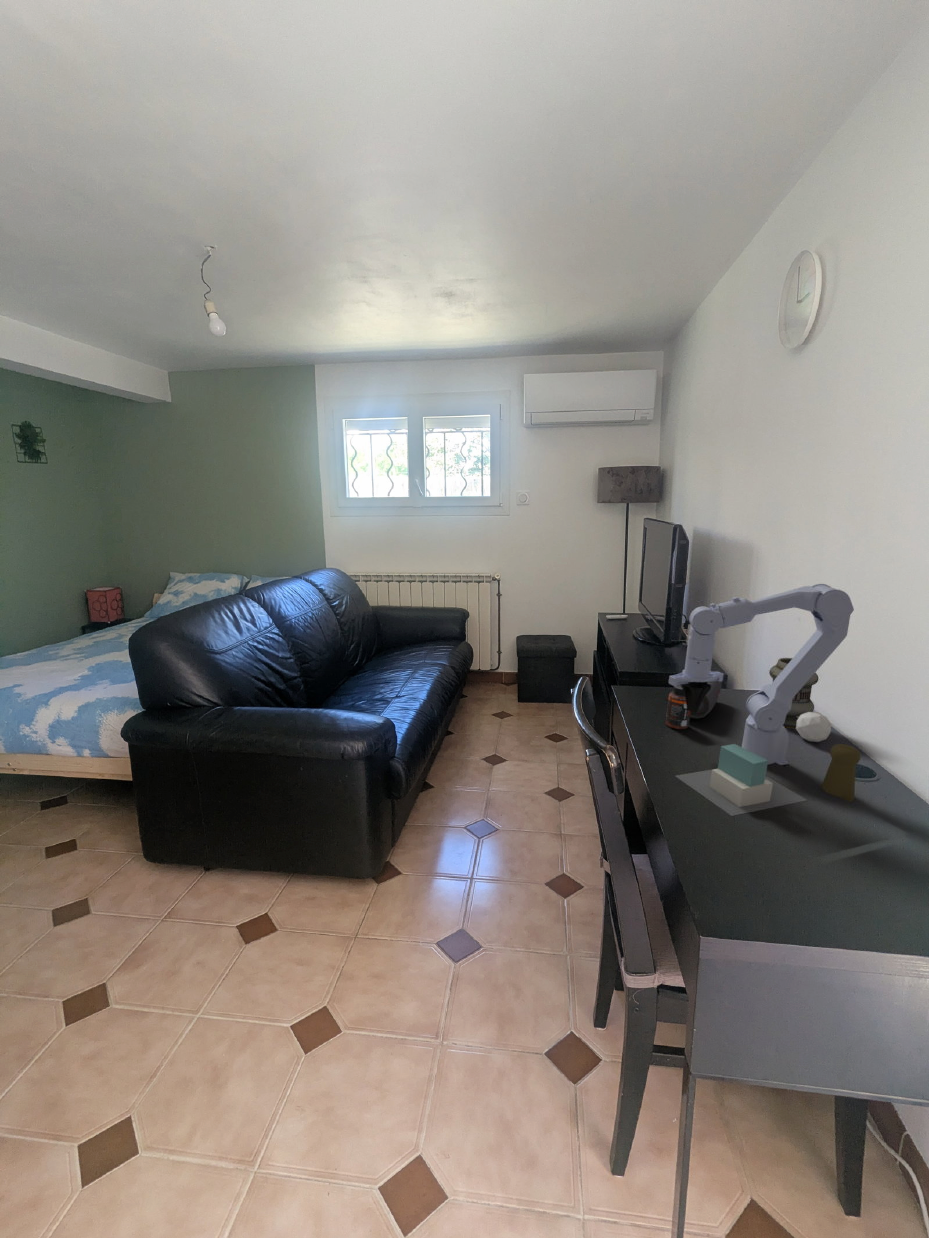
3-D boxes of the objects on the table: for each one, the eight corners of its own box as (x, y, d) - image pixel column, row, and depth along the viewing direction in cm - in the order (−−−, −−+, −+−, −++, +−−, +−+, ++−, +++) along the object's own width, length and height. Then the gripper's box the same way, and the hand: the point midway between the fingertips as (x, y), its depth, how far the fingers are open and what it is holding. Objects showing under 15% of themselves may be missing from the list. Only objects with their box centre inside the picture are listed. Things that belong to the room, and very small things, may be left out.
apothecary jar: (752, 715, 157) (761, 656, 153) (783, 712, 160) (794, 654, 157) (787, 732, 146) (798, 669, 142) (820, 728, 149) (832, 666, 145)
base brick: (738, 781, 117) (741, 764, 116) (769, 800, 110) (773, 783, 109) (709, 786, 114) (712, 769, 114) (739, 807, 107) (742, 788, 106)
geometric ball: (816, 749, 142) (842, 730, 139) (806, 746, 137) (833, 726, 134) (794, 726, 147) (819, 707, 144) (784, 722, 142) (810, 703, 139)
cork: (848, 790, 117) (858, 743, 114) (858, 804, 111) (869, 755, 109) (816, 784, 119) (825, 738, 116) (824, 798, 113) (834, 750, 111)
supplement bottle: (690, 731, 144) (695, 691, 142) (667, 728, 146) (672, 689, 143) (686, 722, 150) (691, 684, 148) (663, 720, 151) (668, 682, 149)
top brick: (731, 765, 116) (734, 743, 115) (764, 783, 109) (768, 760, 108) (717, 768, 114) (720, 746, 113) (750, 786, 107) (753, 763, 106)
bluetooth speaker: (710, 726, 148) (715, 692, 146) (675, 718, 153) (679, 685, 151) (721, 702, 167) (725, 671, 165) (689, 695, 172) (693, 665, 170)
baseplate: (744, 767, 125) (744, 764, 125) (806, 803, 111) (807, 800, 111) (674, 779, 119) (674, 775, 119) (731, 819, 104) (731, 815, 104)
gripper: (710, 650, 134) (703, 702, 137) (662, 654, 129) (656, 707, 132) (733, 658, 128) (725, 712, 131) (683, 663, 123) (676, 718, 126)
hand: (692, 710), depth 131 cm, fingers closed
